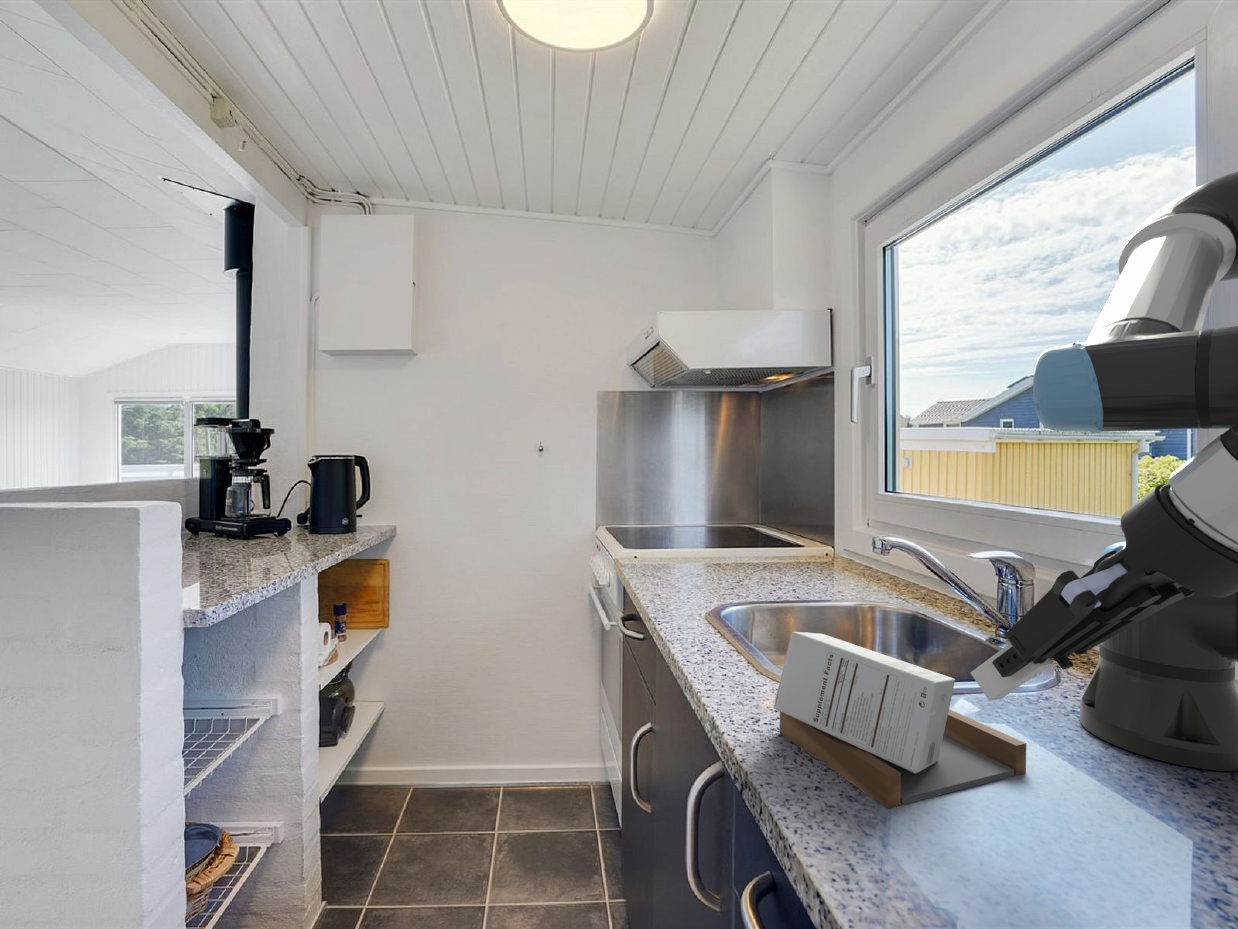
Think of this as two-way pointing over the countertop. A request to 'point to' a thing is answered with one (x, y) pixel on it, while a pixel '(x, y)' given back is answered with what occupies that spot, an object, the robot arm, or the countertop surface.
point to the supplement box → (866, 699)
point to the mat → (949, 772)
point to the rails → (882, 777)
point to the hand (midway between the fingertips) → (985, 685)
